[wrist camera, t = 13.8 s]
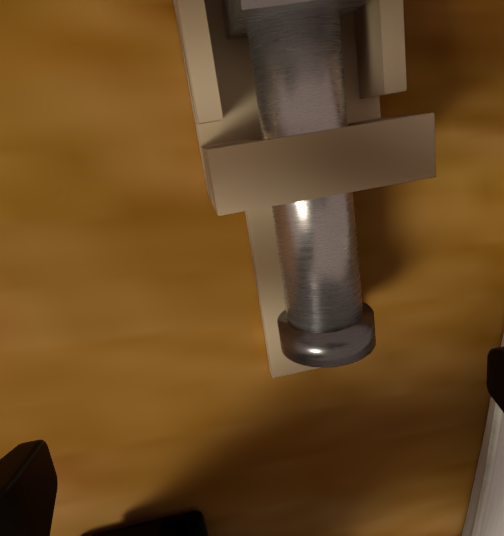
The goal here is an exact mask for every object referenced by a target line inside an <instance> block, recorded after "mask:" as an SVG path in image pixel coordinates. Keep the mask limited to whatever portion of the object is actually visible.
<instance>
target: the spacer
mask: <svg viewBox="0 0 504 536" xmlns="http://www.w3.org/2000/svg"><path fill="white" fill-rule="evenodd" d="M367 1H369V0H221V3H222V10H223V17H224V23H225V30H226V36H227V40H230V39H237V38H245V37H248V33H247V27H248V26H249V25H250V24H252V23H254V22H256V21H258V20H260V19H263V18H266V17H269V16H272V15H276V14H279V13H284V12H288V11H293V10H299V9H306V8H317V7H329V8H335V9H337V10H338V11H339V20H340V21H341V20H342V19H343V18H345V17H346V16H348V15H349V14H350V13H352V12H353V11H355V10H356V9H357V8H359V7H360V6H362V5H363V4H364V3H366V2H367Z"/></svg>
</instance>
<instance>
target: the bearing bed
mask: <svg viewBox="0 0 504 536" xmlns="http://www.w3.org/2000/svg"><path fill="white" fill-rule="evenodd" d="M173 3H174V8H175V14H176V19H177V25H178V30H179V36H180V41H181V47H182V52H183V58H184V63H185V69H186V74H187V80H188V86H189V91H190V97H191V102H192V108H193V113H194V119H195V124H196V130H197V135H198V141H199V146H200V152H201V157H202V163H203V169H204V174H205V180H206V185H207V191H208V196H209V198H210V200H211V202H212V204H213V206H214V208H215V210H216V212H217V214H218V216H221V215H226V214H232V213H237V212H243V211H245V215H246V221H247V228H248V234H249V240H250V247H251V253H252V259H253V266H254V272H255V278H256V285H257V291H258V298H259V304H260V310H261V317H262V323H263V329H264V336H265V342H266V348H267V355H268V361H269V368H270V373H271V375H272V378H276V377H280V376H285V375H290V374H294V373H299V372H303V371H308V370H312V369H317V368H321V367H309V366H304V365H300V364H297V363H295V362H293V361H291V360H289V359H288V358H287V357H286V356H285V355H284V354H283V353H282V350H281V344H280V337H279V330H278V323H277V320H278V317H279V315H280V314H281V313H282V312H283V311H284V310H285V309H286V308H285V300H284V293H283V286H282V279H281V272H280V264H279V257H278V250H277V243H276V235H275V228H274V221H273V214H272V206H277V205H282V204H288V203H293V202H299V201H304V200H310V199H316V198H321V197H327V196H332V195H338V194H344V193H349V192H355V191H360V190H366V189H371V188H377V187H383V186H388V185H394V184H399V183H405V182H411V181H416V180H422V179H427V178H433V177H436V162H435V120H434V113H426V114H415V115H403V116H392V117H381V114H380V97H379V96H383V95H388V94H393V93H398V92H403V91H407V83H406V58H405V34H404V9H403V0H369V1H367V2H366V3H364V4H363V5H362V6H360V7H359V8H357V9H356V10H355V11H353V12H352V13H350V14H349V15H348V16H346V17H345V18H343V19H342V20H341V21H340V32H341V45H342V57H343V70H344V82H345V94H346V107H347V119H348V126H347V127H341V128H334V129H328V130H322V131H316V132H310V133H304V134H298V135H291V136H285V137H279V138H273V139H267V140H262V134H261V127H260V120H259V112H258V105H257V98H256V91H255V84H254V76H253V69H252V62H251V55H250V47H249V40H248V37H245V38H237V39H230V40H227V36H226V30H225V23H224V17H223V10H222V3H221V0H173Z"/></svg>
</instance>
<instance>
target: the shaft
mask: <svg viewBox="0 0 504 536" xmlns="http://www.w3.org/2000/svg"><path fill="white" fill-rule="evenodd" d="M247 33H248V40H249V47H250V55H251V62H252V69H253V76H254V84H255V91H256V98H257V105H258V112H259V120H260V127H261V134H262V140H267V139H273V138H279V137H285V136H291V135H298V134H304V133H310V132H316V131H322V130H328V129H334V128H341V127H347V126H348V119H347V107H346V94H345V82H344V70H343V57H342V45H341V32H340V20H339V11H338V10H337V9H335V8H329V7H317V8H306V9H299V10H293V11H288V12H284V13H279V14H276V15H272V16H269V17H266V18H263V19H260V20H258V21H256V22H254V23H252V24H250V25H249V26H248V27H247ZM272 214H273V221H274V228H275V235H276V243H277V250H278V257H279V264H280V272H281V279H282V286H283V293H284V300H285V308H286V309H285V310H284V311H283V312H282V313H281V314H280V315H279V317H278V320H277V323H278V330H279V337H280V344H281V350H282V353H283V354H284V355H285V356H286V357H287V358H288V359H289V360H291V361H293V362H295V363H297V364H300V365H304V366H309V367H322V368H325V367H337V366H343V365H347V364H351V363H353V362H356V361H358V360H361V359H362V358H364V357H366V356H367V355H368V354H370V353H371V352H372V351H373V349H374V347H375V345H376V337H375V323H374V312H373V310H372V308H371V307H370V306H369V305H367V304H366V303H364V302H362V293H361V280H360V268H359V256H358V243H357V231H356V218H355V206H354V194H353V192H349V193H344V194H338V195H332V196H327V197H321V198H316V199H310V200H304V201H299V202H293V203H288V204H282V205H277V206H272Z"/></svg>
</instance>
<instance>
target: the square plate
mask: <svg viewBox="0 0 504 536" xmlns="http://www.w3.org/2000/svg"><path fill="white" fill-rule="evenodd" d="M503 346H504V333H503V338H502V342H501V347H503ZM462 536H504V413H503V411H502V410H501V409H500V407H499V406H498V405H497V403H496V402H495V401H494V399H493V398H492V397H490V403H489V409H488V415H487V421H486V426H485V431H484V436H483V441H482V446H481V450H480V455H479V460H478V464H477V469H476V474H475V478H474V483H473V488H472V493H471V497H470V502H469V506H468V511H467V515H466V519H465V523H464V527H463V531H462Z"/></svg>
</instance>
